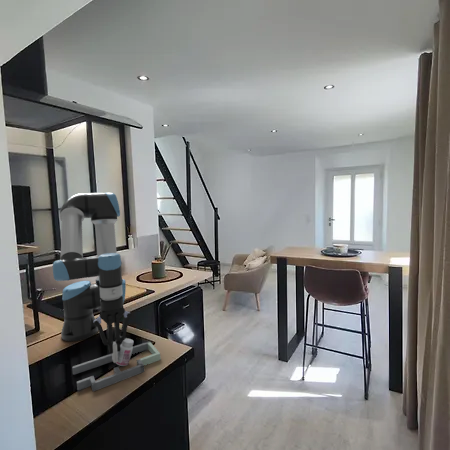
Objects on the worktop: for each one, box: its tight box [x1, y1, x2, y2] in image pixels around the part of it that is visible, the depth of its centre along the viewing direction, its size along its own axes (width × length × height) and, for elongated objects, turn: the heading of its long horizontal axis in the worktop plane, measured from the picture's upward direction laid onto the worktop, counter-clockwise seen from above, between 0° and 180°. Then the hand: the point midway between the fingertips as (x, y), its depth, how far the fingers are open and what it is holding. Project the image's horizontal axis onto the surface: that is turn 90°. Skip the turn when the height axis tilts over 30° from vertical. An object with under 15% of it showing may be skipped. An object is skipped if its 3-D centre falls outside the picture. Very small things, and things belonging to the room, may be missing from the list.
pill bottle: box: [115, 337, 134, 367], centre depth 104 cm, size 5×5×8 cm
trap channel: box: [72, 341, 161, 392], centre depth 102 cm, size 15×28×2 cm, turn 125°
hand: (115, 360), depth 102 cm, fingers closed
